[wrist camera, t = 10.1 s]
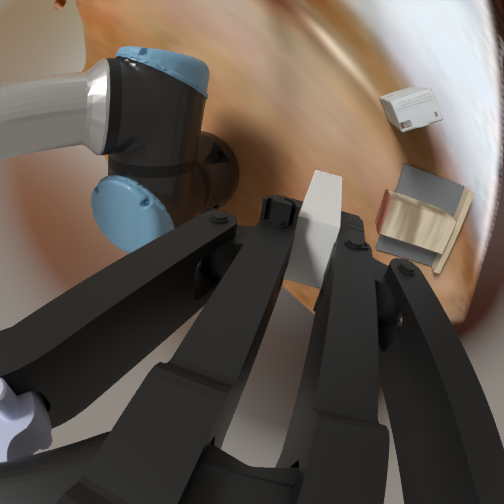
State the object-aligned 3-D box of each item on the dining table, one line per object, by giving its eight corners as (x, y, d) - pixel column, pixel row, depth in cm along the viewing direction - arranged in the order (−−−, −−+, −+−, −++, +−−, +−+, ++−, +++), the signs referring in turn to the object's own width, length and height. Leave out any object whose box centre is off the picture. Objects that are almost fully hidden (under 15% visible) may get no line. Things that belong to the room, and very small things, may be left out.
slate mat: (375, 247, 51) (376, 254, 48) (403, 163, 42) (406, 167, 40) (436, 266, 48) (439, 273, 46) (468, 188, 40) (474, 193, 38)
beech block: (377, 233, 44) (441, 254, 42) (389, 198, 41) (456, 222, 39) (375, 221, 48) (435, 241, 46) (385, 189, 44) (448, 211, 42)
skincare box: (410, 86, 35) (432, 84, 25) (421, 112, 37) (446, 119, 27) (376, 97, 38) (388, 98, 28) (388, 124, 40) (402, 133, 30)
